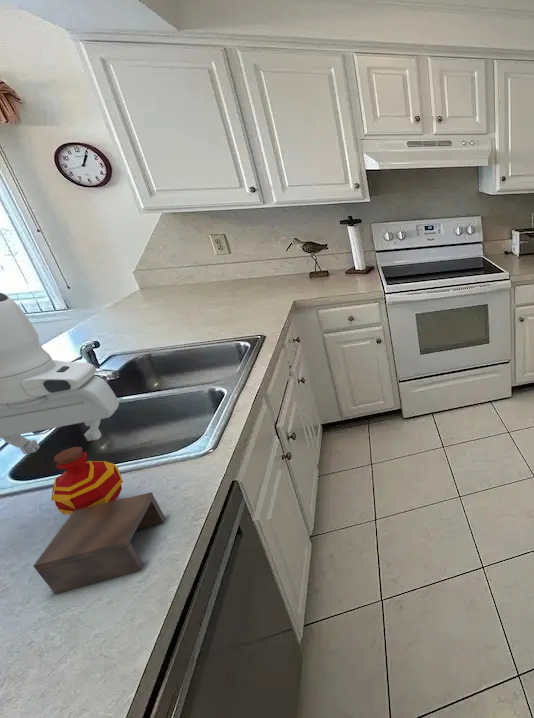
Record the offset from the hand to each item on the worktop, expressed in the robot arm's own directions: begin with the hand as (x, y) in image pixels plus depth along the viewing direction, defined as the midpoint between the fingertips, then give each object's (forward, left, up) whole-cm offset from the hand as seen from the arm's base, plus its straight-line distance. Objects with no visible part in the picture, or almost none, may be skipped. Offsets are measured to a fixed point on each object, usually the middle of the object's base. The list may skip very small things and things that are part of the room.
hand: (64, 444), depth 77 cm
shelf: (+7, -13, -17) cm, 22 cm away
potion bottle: (0, 0, -17) cm, 17 cm away
